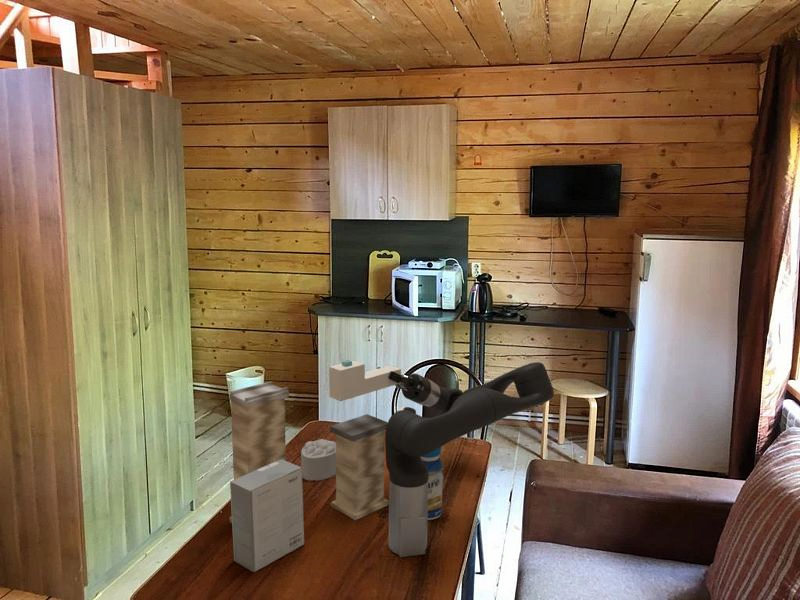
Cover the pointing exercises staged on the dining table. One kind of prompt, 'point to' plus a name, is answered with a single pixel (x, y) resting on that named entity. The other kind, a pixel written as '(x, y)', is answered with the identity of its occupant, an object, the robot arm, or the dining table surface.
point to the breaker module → (357, 379)
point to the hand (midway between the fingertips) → (383, 372)
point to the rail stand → (257, 427)
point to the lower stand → (359, 466)
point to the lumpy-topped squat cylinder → (318, 460)
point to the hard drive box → (267, 514)
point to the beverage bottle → (434, 483)
